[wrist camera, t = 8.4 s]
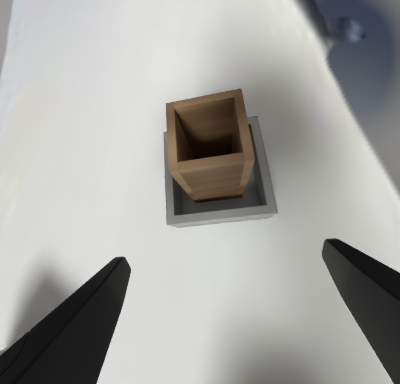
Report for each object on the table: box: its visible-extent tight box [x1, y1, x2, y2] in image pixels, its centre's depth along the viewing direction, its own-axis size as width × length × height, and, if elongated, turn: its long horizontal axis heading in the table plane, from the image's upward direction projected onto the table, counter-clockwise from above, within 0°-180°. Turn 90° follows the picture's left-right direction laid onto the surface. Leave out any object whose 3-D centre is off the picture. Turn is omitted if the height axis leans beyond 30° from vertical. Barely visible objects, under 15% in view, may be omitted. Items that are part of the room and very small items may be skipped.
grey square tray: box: [164, 116, 278, 227], centre depth 20 cm, size 11×11×4 cm
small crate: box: [166, 89, 255, 203], centre depth 17 cm, size 6×6×10 cm
